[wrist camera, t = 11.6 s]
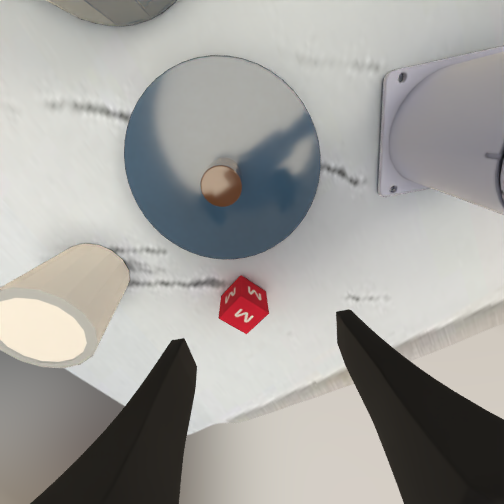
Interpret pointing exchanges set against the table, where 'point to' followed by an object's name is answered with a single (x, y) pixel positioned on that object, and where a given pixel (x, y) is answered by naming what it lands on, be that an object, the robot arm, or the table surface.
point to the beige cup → (62, 306)
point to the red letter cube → (243, 305)
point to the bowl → (114, 10)
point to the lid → (222, 157)
